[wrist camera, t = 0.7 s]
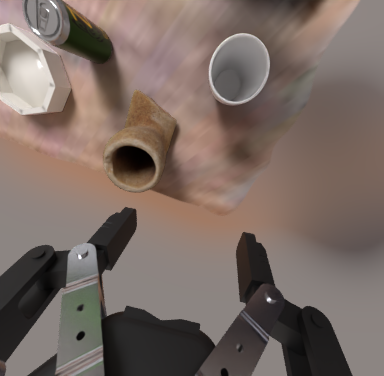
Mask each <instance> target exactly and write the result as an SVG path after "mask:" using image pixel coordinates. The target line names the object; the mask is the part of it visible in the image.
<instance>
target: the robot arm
mask: <svg viewBox="0 0 384 376" xmlns="http://www.w3.org/2000/svg"><path fill="white" fill-rule="evenodd" d="M136 227H137V216H136V209H132V208H127V207H125V208H124V209H123V210H122V211H121V212H120V213H115V214H113V215H112V216H110V217H109V218H108V219H107V220H106V222H105V223H104V224H103V225H102V227H100V228H99V229H98V231H97V232H96V233H95V234H94V235H93V236H92V237H91V239H90V240H89V241H88V242H87V243H85V244H80V245H78V246H76V247H74V248H73V249H72V250H68V251H54V248H53V247H52V246H49V245H42V246H38V247H35V248H33V249H31V250H30V251H28V252H27V253H26V254H25V255H24V256H22V257H21V258H20V259H19V260H18V261H17V262H16V263H15V264H14V265H13V266H11V267H10V268H9V269H8V270H7V271H6V272H5V273H4V274H2V275H1V276H0V376H5V372H6V365H5V362H6V361H7V359H8V358H9V357H10V356H11V354H12V353H13V352H14V350H15V349H16V348H17V346H18V345H19V344H20V342H21V341H22V339H23V338H24V337H25V336H26V334H27V333H28V332H29V330H30V329H31V328H32V326H33V325H34V324H35V322H36V321H37V319H38V318H39V317H40V315H41V314H42V313H43V311H44V310H45V309H46V307H47V306H48V305H49V303H50V302H51V301H52V299H53V298H54V297H55V295H56V294H57V293H58V291H59V290H60V289H61V288H64V289H63V291H62V301H61V314H60V326H59V340H58V352H57V354H55V355H54V356H53V357H51V358H50V359H49V360H47V361H46V362H45V363H44V364H42V365H41V366H39V367H38V368H37V369H35V370H34V371H33V372H32V373H30V374H29V375H28V376H251V375H252V373H253V371H254V369H255V367H256V365H257V363H258V361H259V359H260V357H261V355H262V353H263V351H264V349H265V347H266V345H267V343H268V341H269V336H271V337H272V338H274V339H276V340H277V341H279V342H280V343H281V344H282V349H283V355H284V360H285V366H286V371H287V376H352V373H351V371H350V368H349V366H348V364H347V361H346V359H345V356H344V354H343V352H342V349H341V347H340V344H339V342H338V339H337V337H336V335H335V332H334V330H333V327H332V325H331V323H330V321H329V320H328V319H327V317H326V316H325V315H324V314H323V313H322V312H320V311H319V310H317V309H316V308H314V307H311V306H306V307H304V308H303V309H301V308H300V307H298V306H296V305H294V304H292V303H290V302H289V301H287V300H286V299H284V297H283V295H282V293H281V292H280V291H279V290H278V289H277V288H276V287H275V284H274V280H273V276H272V273H271V269H270V265H269V262H268V258H267V254H266V250H265V248H264V247H263V246H262V244H261V243H257V242H256V238H255V235H254V234H251V233H246V232H243V233H242V236H241V238H240V241H239V243H238V246H237V250H236V258H237V270H238V283H239V295H240V302H244V303H246V306H245V308H244V309H243V310H242V311H241V312H240V314H239V315H238V316H237V317H236V319H235V320H234V322H233V323H232V324H231V326H230V327H229V329H228V330H227V331H226V333H225V334H224V336H223V337H222V338H221V340H220V341H219V343H218V344H217V345H216V346H215V345H214V343H213V342H212V340H211V339H210V338H209V337H208V336H207V335H206V334H205V333H203V332H202V331H200V330H199V329H200V324H199V323H195V322H191V321H187V320H182V319H178V320H160V319H158V318H156V317H155V316H153V315H152V314H150V313H148V312H147V311H145V310H142V309H138V308H134V307H130V306H126V308H125V311H124V312H117V313H114V314H111V315H109V316H107V313H106V307H105V299H104V290H103V281H102V273H103V272H104V270H105V269H106V270H110V271H111V270H112V268H113V266H114V265H115V263H116V262H117V260H118V258H119V257H120V255H121V254H122V252H123V250H124V249H125V247H126V245H127V244H128V242H129V240H130V239H131V237H132V236H133V234H134V232H135V230H136ZM65 287H66V288H65Z"/></svg>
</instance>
